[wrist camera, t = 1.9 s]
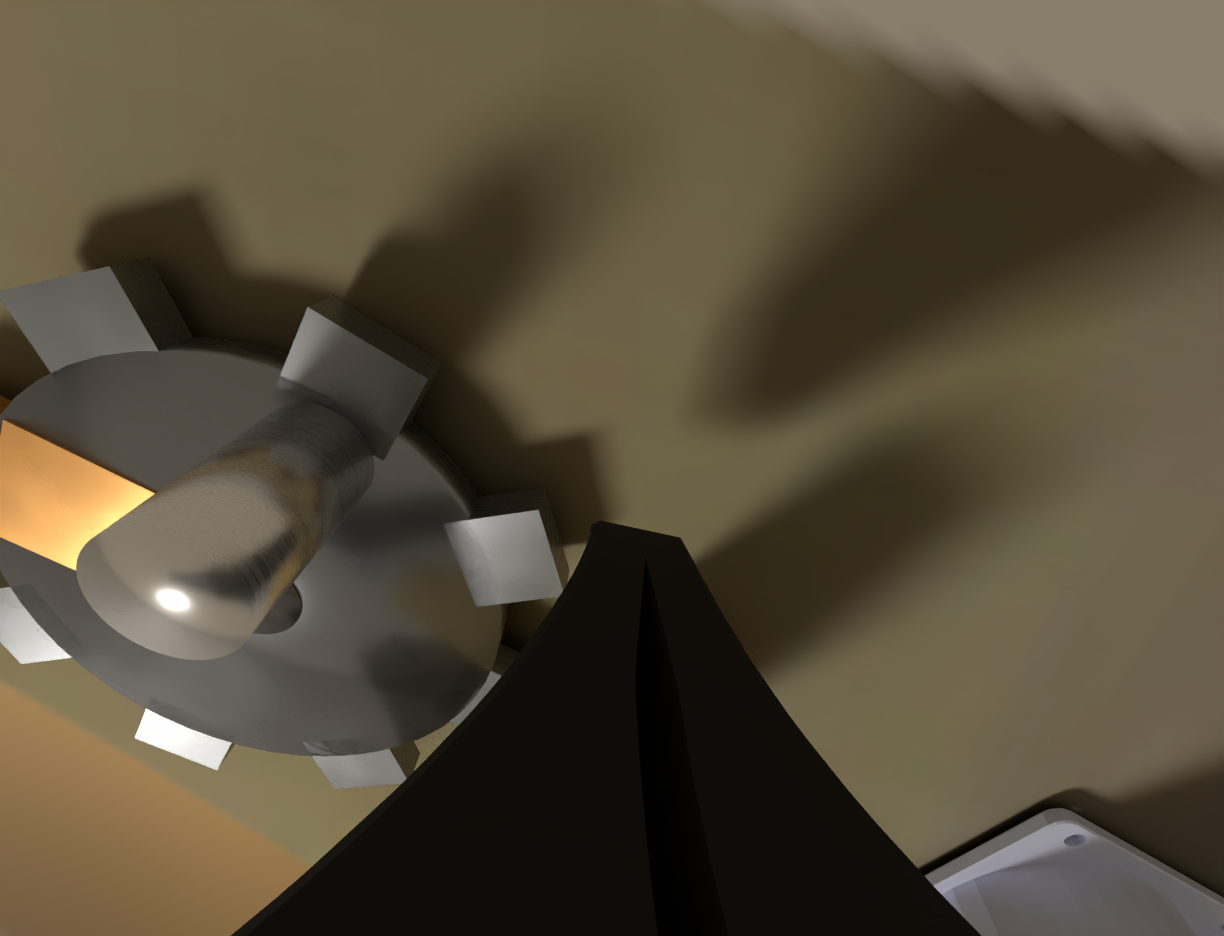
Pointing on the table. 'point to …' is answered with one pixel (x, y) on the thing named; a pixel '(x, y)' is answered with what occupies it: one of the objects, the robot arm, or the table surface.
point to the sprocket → (253, 530)
